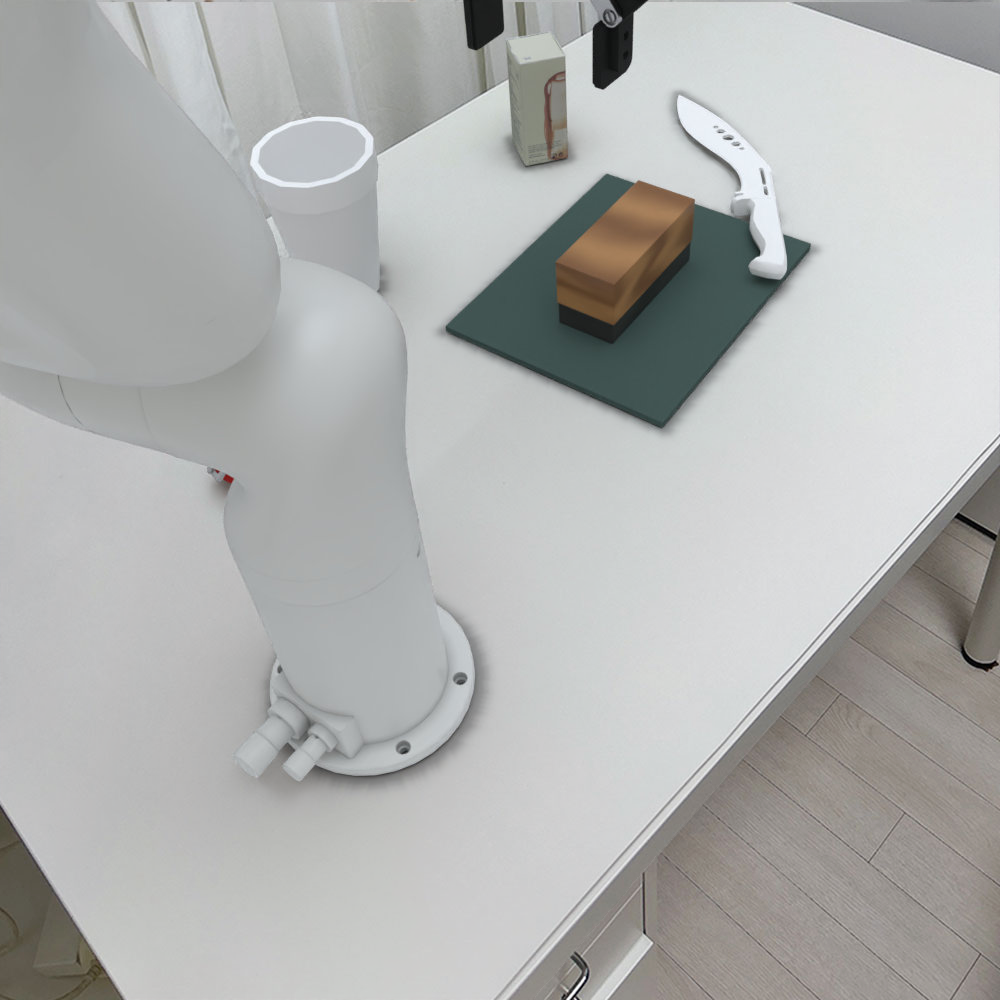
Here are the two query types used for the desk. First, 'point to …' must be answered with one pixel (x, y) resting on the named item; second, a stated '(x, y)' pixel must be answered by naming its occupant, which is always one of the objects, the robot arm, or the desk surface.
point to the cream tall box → (537, 97)
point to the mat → (652, 335)
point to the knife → (743, 185)
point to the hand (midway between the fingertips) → (546, 59)
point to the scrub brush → (624, 260)
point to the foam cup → (323, 193)
